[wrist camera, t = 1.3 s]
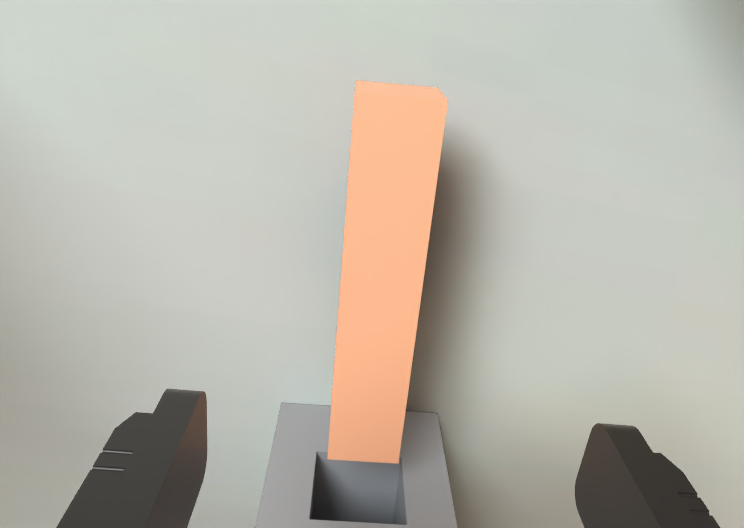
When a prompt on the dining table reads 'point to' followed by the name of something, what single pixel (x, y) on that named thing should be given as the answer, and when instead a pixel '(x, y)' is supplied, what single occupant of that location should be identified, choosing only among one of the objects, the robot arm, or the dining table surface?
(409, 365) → the dowel
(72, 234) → the dining table surface
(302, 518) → the block
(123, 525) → the robot arm
